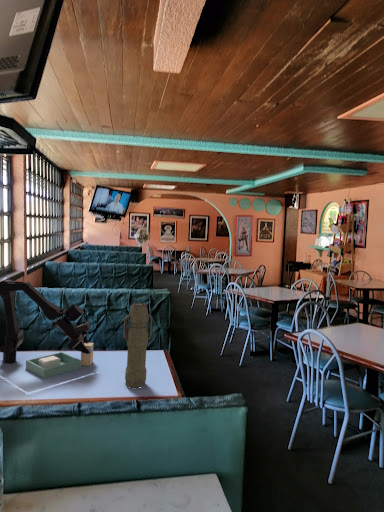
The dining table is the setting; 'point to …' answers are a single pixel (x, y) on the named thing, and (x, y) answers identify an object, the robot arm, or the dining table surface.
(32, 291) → the robot arm
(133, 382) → the thermos
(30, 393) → the dining table surface
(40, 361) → the beige rectangular block
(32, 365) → the tote
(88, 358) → the oat carton
